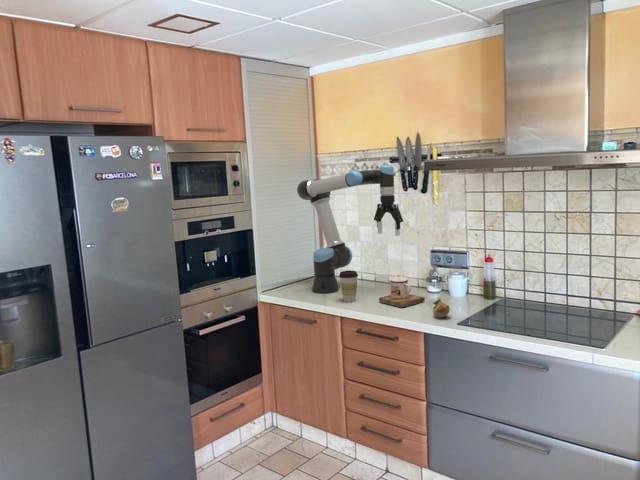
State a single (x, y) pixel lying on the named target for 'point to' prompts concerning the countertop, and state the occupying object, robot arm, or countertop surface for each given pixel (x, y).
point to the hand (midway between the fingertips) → (388, 234)
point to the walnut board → (402, 300)
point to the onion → (440, 309)
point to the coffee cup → (348, 285)
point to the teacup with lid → (399, 287)
